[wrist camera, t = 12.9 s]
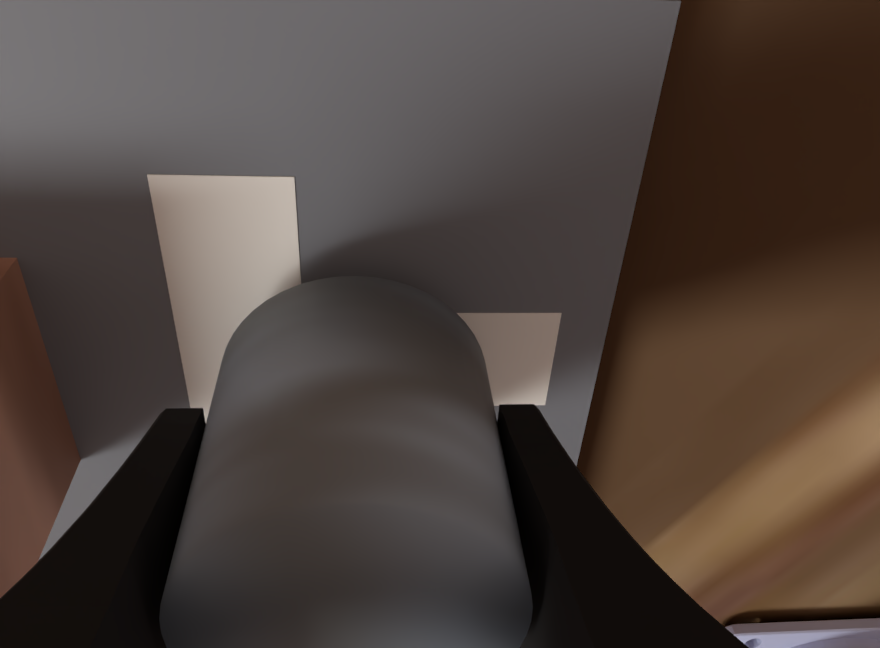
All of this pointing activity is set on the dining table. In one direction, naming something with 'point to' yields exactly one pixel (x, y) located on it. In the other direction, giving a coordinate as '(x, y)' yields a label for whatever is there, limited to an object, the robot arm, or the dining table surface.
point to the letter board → (317, 184)
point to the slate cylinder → (349, 484)
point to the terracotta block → (28, 434)
